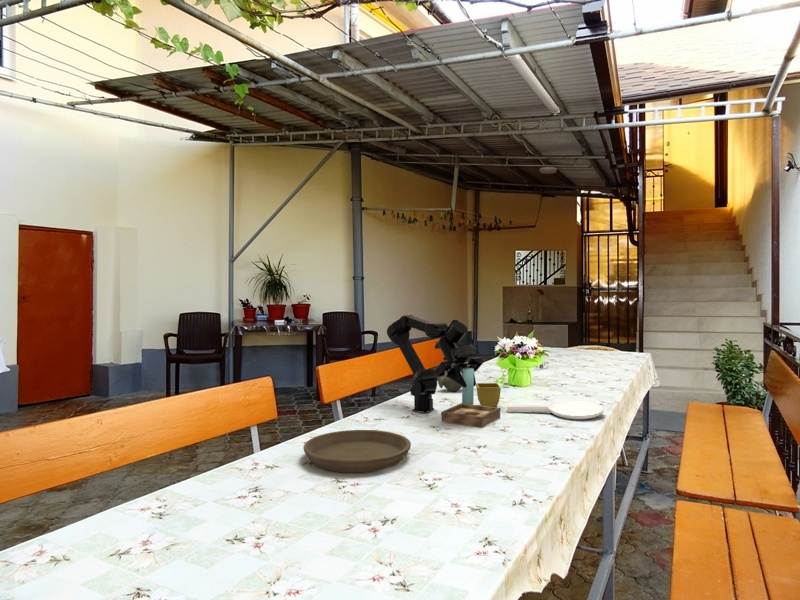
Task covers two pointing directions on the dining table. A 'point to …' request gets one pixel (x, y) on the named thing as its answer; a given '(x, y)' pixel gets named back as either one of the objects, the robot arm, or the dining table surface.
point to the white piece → (562, 409)
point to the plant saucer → (357, 450)
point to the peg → (468, 386)
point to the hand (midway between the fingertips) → (470, 386)
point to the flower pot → (488, 394)
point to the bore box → (470, 415)
